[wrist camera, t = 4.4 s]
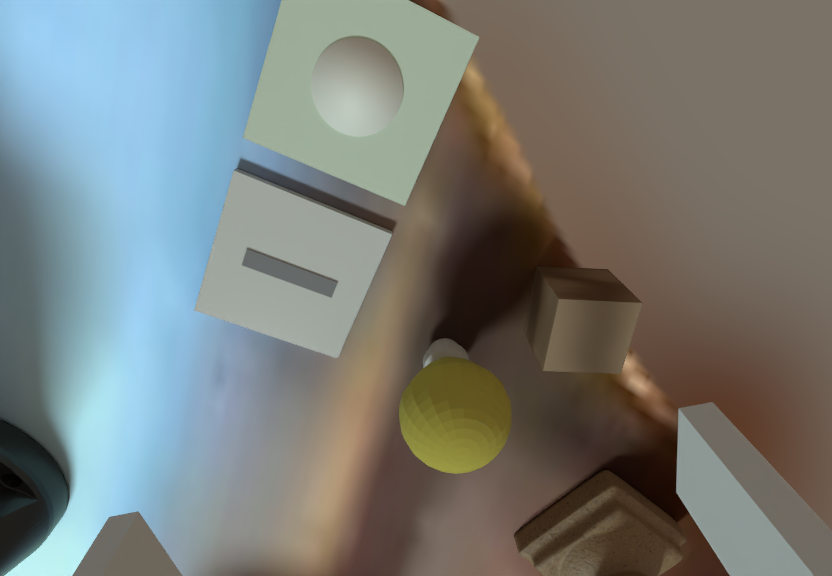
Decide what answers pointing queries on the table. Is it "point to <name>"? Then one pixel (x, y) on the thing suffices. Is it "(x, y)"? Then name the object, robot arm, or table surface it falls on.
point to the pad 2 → (289, 265)
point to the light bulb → (454, 411)
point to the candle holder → (602, 533)
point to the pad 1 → (358, 88)
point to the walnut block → (580, 320)
